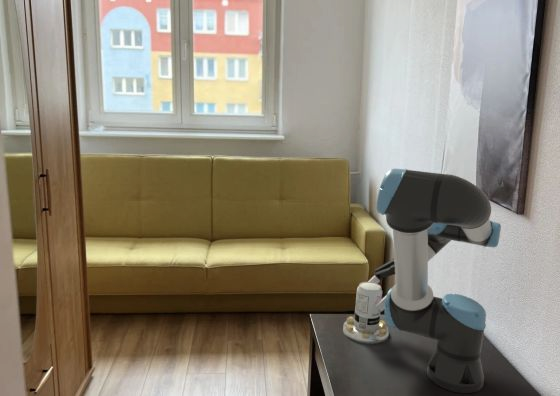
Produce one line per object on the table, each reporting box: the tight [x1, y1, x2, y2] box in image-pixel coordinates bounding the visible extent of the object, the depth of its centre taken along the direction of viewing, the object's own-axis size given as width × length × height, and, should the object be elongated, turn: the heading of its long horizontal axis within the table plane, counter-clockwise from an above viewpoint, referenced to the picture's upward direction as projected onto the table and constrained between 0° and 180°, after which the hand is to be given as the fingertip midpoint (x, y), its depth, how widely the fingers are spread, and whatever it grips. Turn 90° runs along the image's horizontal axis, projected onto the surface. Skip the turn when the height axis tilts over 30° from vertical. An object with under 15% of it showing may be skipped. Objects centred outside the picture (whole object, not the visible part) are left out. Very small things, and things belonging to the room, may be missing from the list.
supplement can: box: [354, 281, 383, 333], centre depth 160 cm, size 8×8×15 cm
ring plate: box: [342, 315, 390, 345], centre depth 161 cm, size 15×15×3 cm
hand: (370, 299), depth 160 cm, fingers open, 13 cm apart
